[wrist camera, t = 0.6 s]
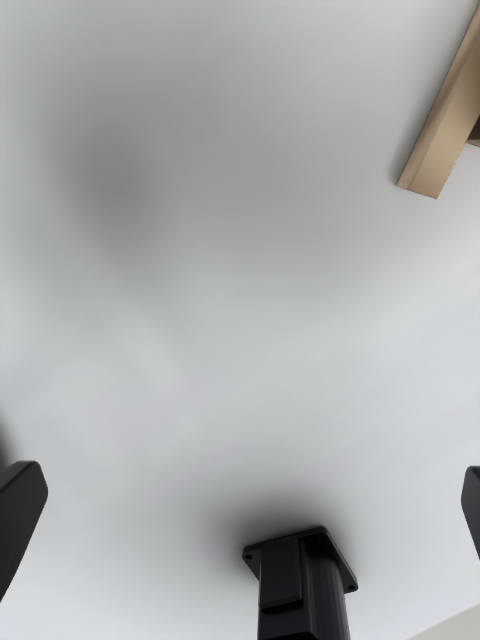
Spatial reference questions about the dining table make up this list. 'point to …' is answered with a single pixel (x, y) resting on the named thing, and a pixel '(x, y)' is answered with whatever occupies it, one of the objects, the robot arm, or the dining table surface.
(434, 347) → the dining table surface
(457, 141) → the channel
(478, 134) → the block
